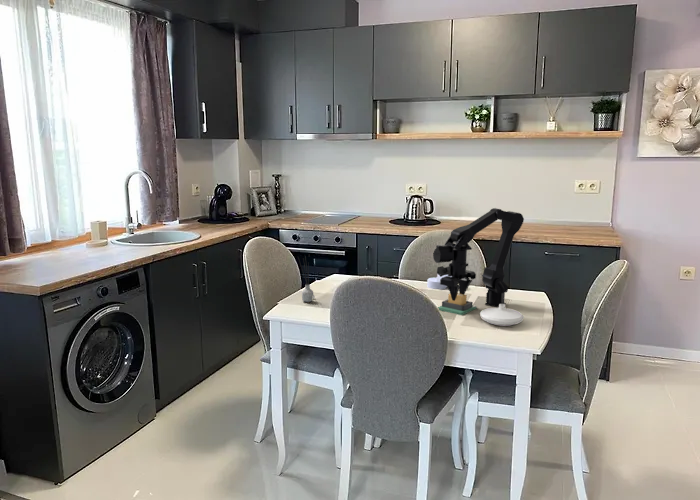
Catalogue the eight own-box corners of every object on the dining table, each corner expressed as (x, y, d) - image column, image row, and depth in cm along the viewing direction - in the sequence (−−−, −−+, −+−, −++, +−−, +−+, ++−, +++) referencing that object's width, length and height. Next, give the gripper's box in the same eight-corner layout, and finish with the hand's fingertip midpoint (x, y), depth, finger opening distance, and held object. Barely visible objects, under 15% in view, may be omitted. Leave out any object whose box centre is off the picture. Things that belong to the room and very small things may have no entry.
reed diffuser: (310, 305, 228) (309, 257, 224) (294, 303, 230) (293, 256, 226) (317, 298, 238) (316, 252, 234) (302, 297, 239) (301, 252, 236)
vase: (481, 328, 201) (482, 309, 199) (477, 315, 216) (478, 297, 215) (526, 330, 198) (527, 311, 197) (519, 317, 214) (520, 299, 212)
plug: (466, 307, 223) (466, 294, 222) (461, 309, 220) (461, 296, 219) (452, 304, 227) (453, 291, 226) (448, 306, 224) (448, 293, 223)
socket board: (476, 308, 224) (476, 301, 224) (461, 315, 215) (462, 307, 215) (452, 303, 231) (452, 296, 231) (437, 309, 222) (437, 302, 222)
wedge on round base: (456, 285, 260) (428, 283, 264) (456, 271, 259) (429, 270, 262) (454, 290, 252) (425, 288, 255) (455, 276, 250) (426, 274, 254)
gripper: (453, 254, 232) (451, 290, 235) (429, 261, 218) (427, 300, 221) (477, 258, 225) (475, 295, 228) (454, 265, 211) (452, 305, 214)
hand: (457, 298), depth 223 cm, fingers open, 6 cm apart
